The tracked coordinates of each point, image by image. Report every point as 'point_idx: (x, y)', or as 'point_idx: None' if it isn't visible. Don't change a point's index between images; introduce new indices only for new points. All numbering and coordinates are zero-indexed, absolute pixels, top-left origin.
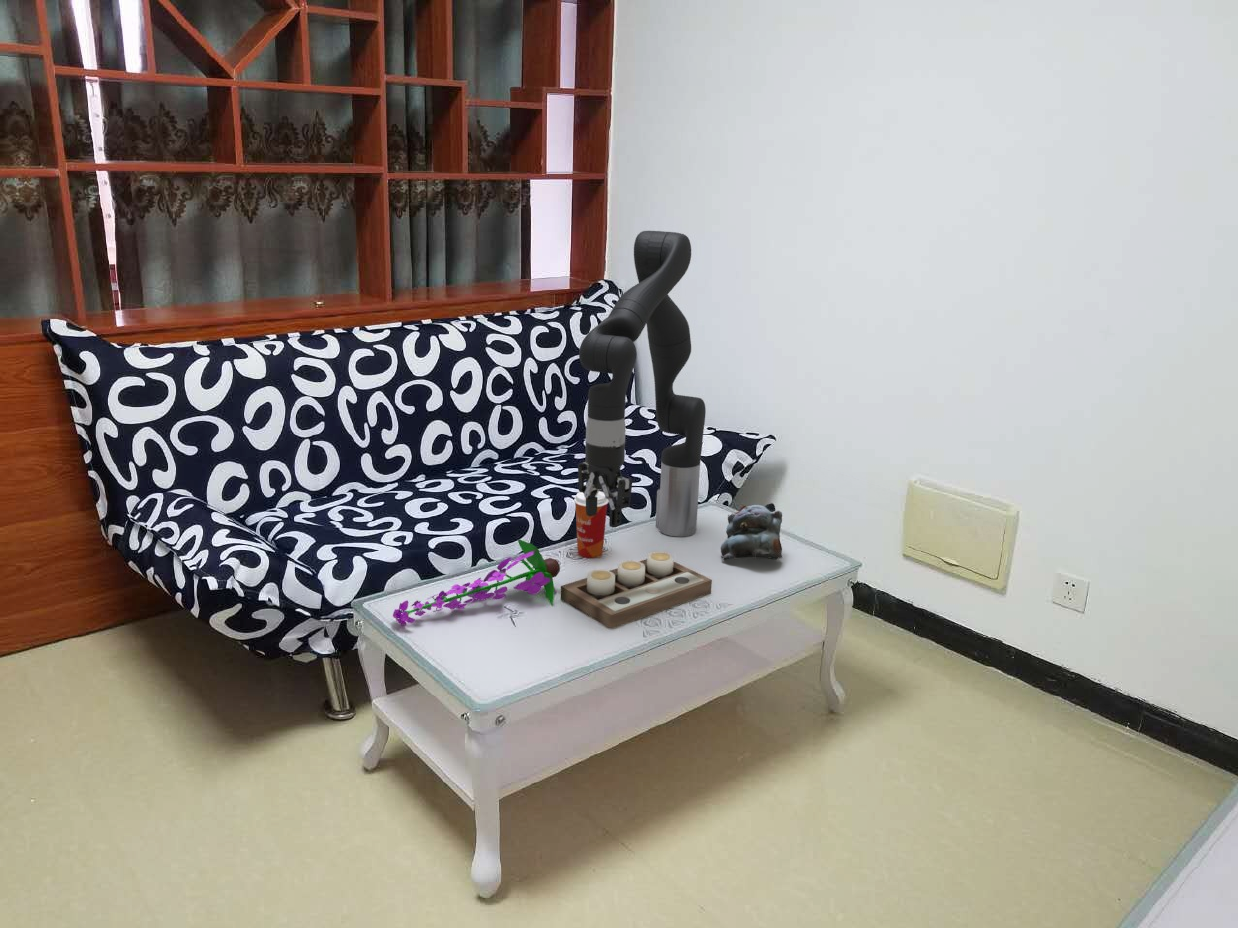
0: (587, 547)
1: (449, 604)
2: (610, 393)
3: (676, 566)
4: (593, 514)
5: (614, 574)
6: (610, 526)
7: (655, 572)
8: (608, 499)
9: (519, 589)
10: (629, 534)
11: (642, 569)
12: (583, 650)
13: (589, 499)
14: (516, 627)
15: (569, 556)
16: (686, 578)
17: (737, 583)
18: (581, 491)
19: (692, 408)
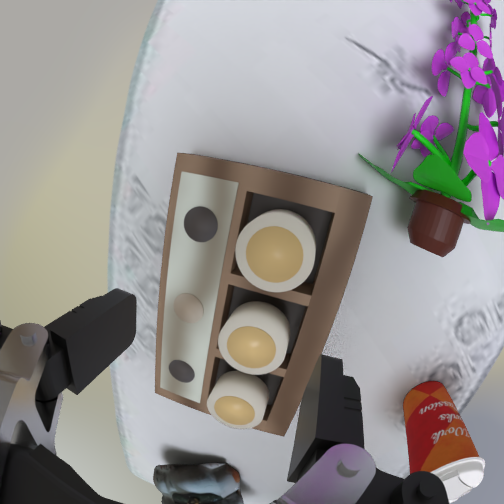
0: (426, 396)
1: None
2: None
3: None
4: (309, 383)
5: (251, 283)
6: (129, 293)
7: (232, 374)
8: (25, 378)
9: (442, 137)
10: (391, 467)
11: (219, 344)
12: (181, 62)
13: (311, 440)
14: (341, 36)
15: (452, 368)
16: (180, 380)
17: (165, 416)
18: (409, 480)
19: None
